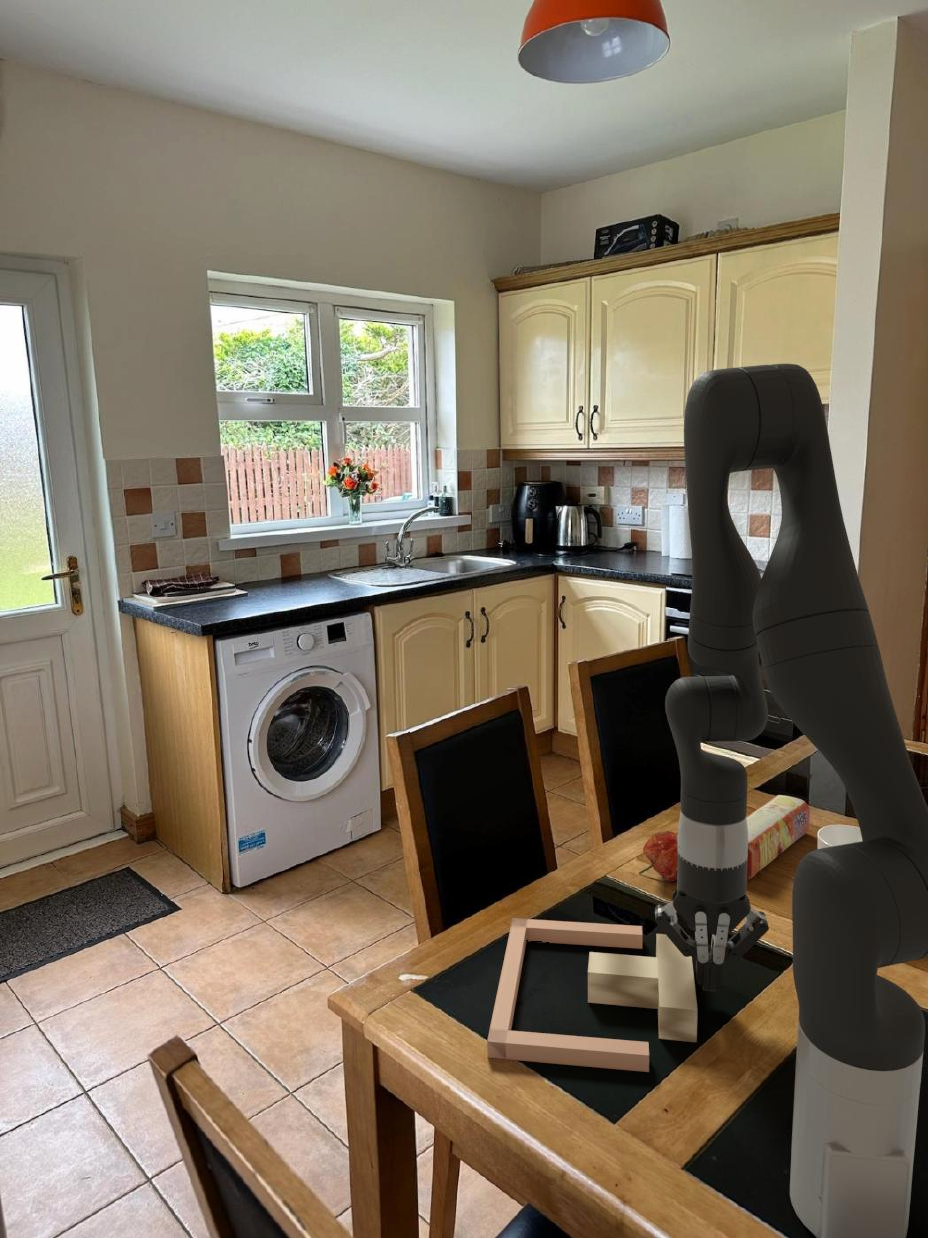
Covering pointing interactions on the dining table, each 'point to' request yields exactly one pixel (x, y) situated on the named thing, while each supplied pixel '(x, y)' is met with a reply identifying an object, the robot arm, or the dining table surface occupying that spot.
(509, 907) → the dining table surface
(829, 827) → the white cup
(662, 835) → the pomegranate
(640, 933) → the frame
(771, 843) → the snack package
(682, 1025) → the T block
